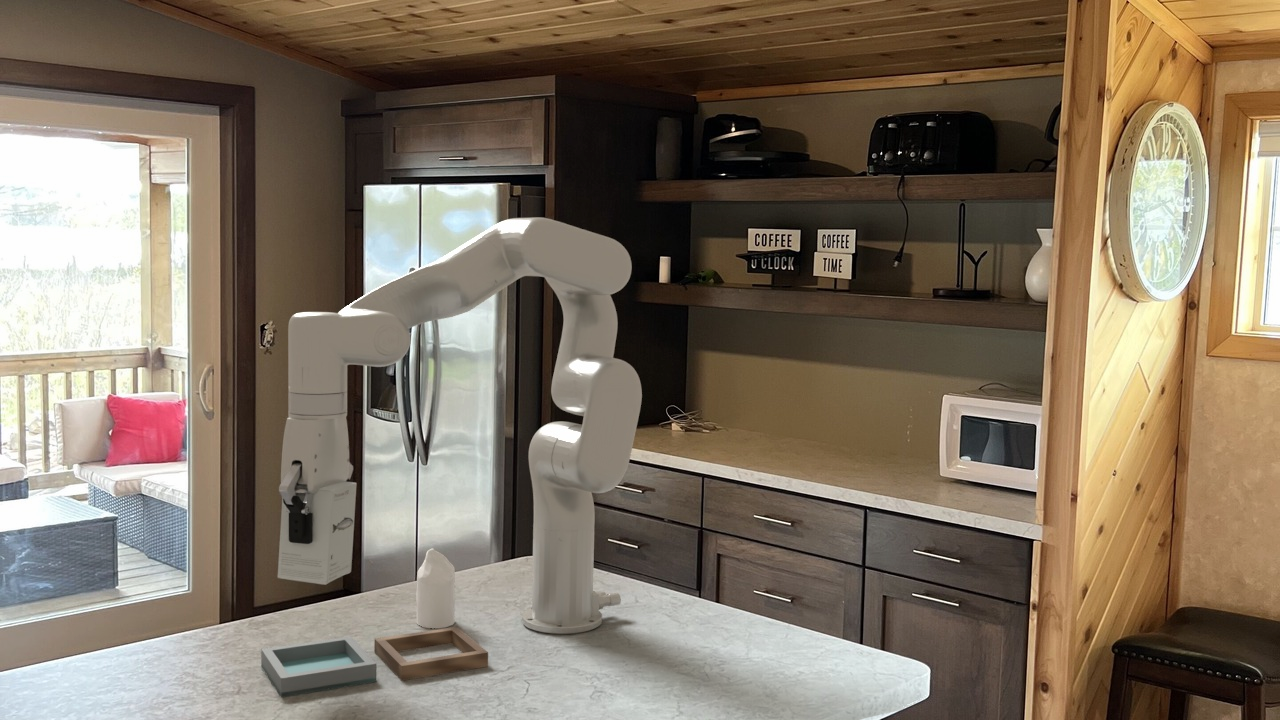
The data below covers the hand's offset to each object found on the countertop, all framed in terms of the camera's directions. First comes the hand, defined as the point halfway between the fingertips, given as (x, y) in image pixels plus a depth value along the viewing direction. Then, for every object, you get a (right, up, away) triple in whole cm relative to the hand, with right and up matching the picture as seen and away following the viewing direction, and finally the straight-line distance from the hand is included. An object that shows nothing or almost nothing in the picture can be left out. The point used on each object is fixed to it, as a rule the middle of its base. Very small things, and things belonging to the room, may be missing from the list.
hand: (317, 534), depth 152 cm
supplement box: (0, -6, 0) cm, 6 cm away
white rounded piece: (+11, -18, +24) cm, 32 cm away
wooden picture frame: (+14, -19, +8) cm, 25 cm away
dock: (0, -19, +2) cm, 19 cm away
